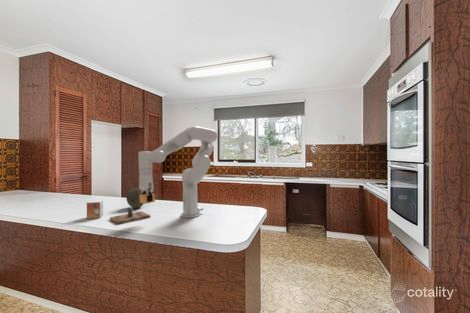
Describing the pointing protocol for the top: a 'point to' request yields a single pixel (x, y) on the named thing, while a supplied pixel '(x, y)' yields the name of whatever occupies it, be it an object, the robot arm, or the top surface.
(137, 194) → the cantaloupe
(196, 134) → the robot arm
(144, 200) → the orange square ring
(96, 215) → the small box
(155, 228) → the top surface
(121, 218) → the board
